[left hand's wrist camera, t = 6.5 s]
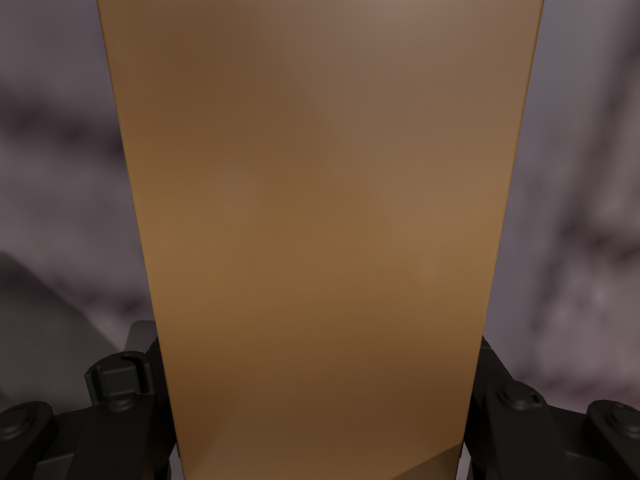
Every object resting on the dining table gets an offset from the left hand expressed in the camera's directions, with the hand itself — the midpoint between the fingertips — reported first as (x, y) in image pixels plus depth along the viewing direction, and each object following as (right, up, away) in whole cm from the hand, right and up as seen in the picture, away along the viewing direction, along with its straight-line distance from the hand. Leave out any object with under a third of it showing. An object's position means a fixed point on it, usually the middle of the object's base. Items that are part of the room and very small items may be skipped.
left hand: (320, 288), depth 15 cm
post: (0, +17, -6) cm, 19 cm away
